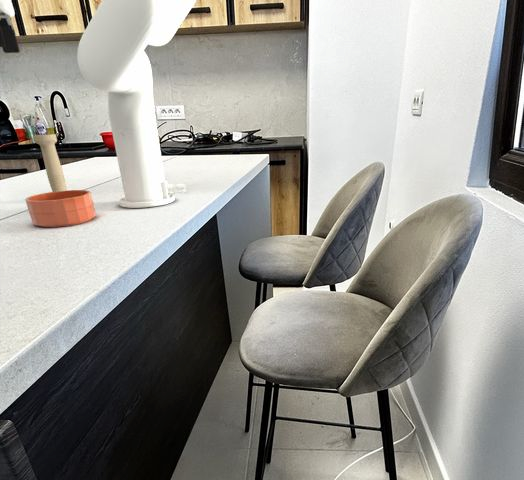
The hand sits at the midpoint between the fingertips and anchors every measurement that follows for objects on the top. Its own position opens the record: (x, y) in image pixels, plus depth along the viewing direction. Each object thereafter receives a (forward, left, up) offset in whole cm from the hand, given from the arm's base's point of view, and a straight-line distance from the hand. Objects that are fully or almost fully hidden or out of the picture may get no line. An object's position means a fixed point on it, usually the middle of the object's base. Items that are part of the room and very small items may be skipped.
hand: (4, 49), depth 88 cm
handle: (-1, -9, -31) cm, 32 cm away
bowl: (-8, +20, -31) cm, 38 cm away
